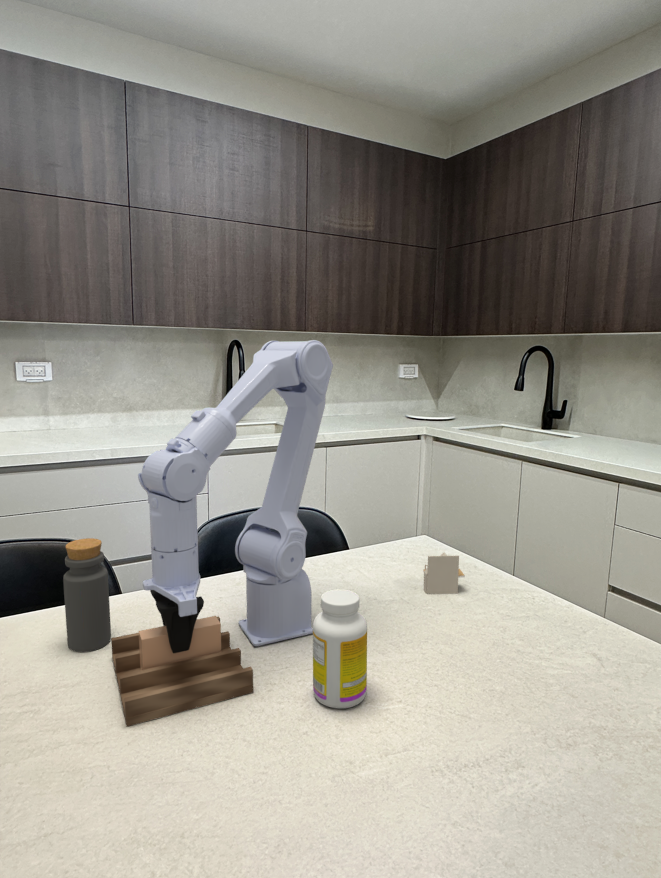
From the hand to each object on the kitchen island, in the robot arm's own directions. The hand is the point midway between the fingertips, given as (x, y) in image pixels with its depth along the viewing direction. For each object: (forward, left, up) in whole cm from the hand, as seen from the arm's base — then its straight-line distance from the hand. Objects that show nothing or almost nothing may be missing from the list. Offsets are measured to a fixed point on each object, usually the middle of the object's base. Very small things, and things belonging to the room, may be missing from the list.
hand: (178, 644), depth 73 cm
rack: (0, 0, -4) cm, 4 cm away
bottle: (+10, -14, -4) cm, 18 cm away
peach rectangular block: (0, 0, -3) cm, 3 cm away
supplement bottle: (-17, +13, -4) cm, 22 cm away
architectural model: (-47, -6, -5) cm, 48 cm away
